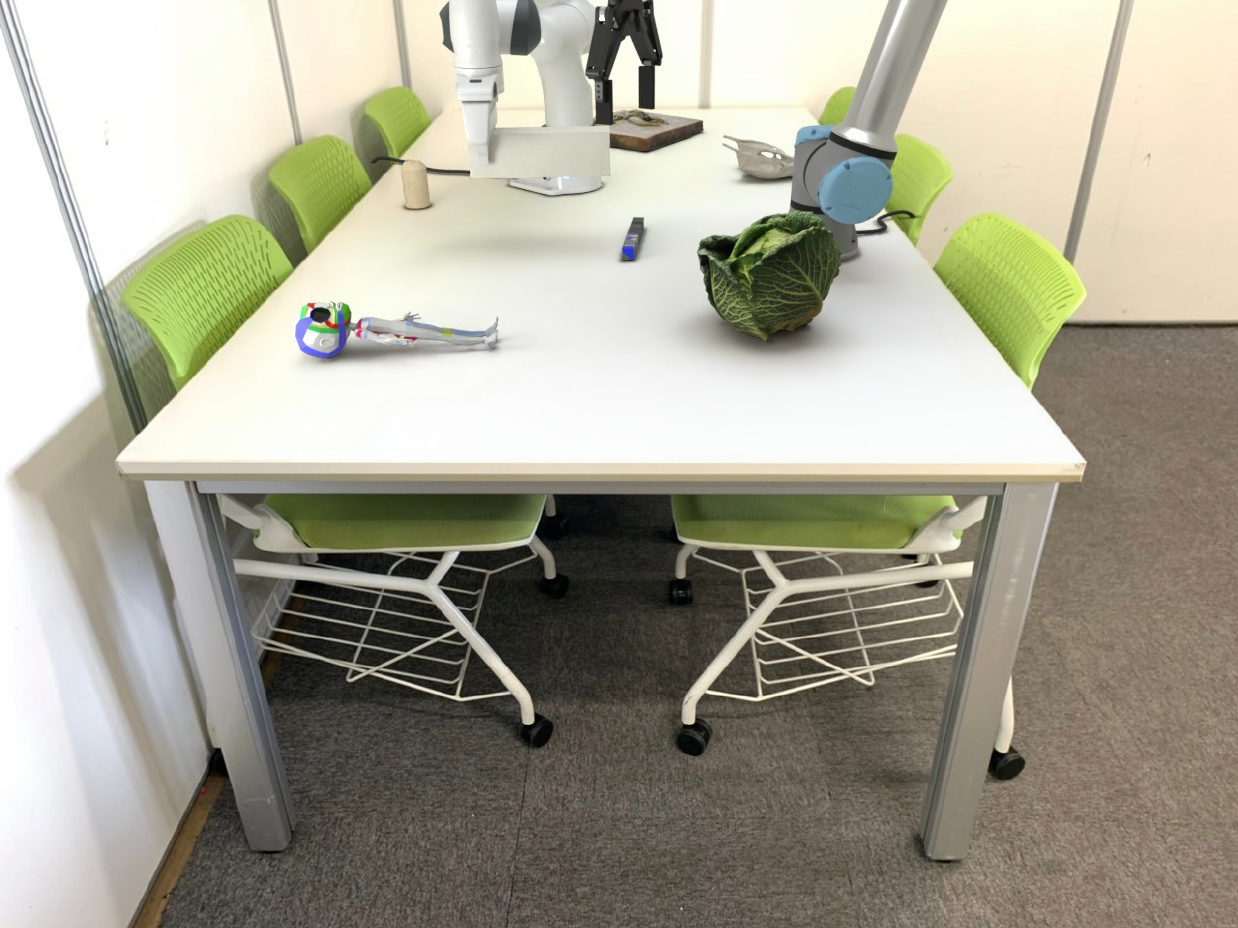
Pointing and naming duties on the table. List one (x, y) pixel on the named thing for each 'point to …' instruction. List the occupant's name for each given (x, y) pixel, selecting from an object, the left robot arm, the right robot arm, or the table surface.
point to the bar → (544, 152)
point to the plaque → (649, 129)
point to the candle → (415, 184)
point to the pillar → (633, 238)
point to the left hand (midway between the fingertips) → (486, 160)
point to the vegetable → (770, 272)
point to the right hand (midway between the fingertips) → (626, 116)
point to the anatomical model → (761, 159)
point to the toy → (371, 330)
